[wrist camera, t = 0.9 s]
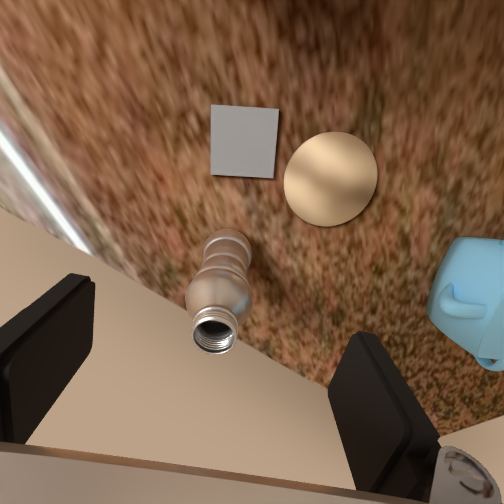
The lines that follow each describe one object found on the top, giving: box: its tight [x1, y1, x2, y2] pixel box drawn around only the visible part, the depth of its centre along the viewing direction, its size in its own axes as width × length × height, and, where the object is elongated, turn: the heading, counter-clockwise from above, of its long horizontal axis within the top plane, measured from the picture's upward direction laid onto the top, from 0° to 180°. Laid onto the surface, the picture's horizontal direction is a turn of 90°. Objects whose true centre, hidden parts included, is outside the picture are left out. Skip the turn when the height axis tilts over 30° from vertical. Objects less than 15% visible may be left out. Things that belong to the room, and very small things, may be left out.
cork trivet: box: [284, 132, 377, 226], centre depth 38 cm, size 12×12×1 cm
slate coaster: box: [211, 105, 279, 178], centre depth 36 cm, size 8×8×1 cm
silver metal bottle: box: [185, 229, 253, 355], centre depth 33 cm, size 6×7×20 cm
